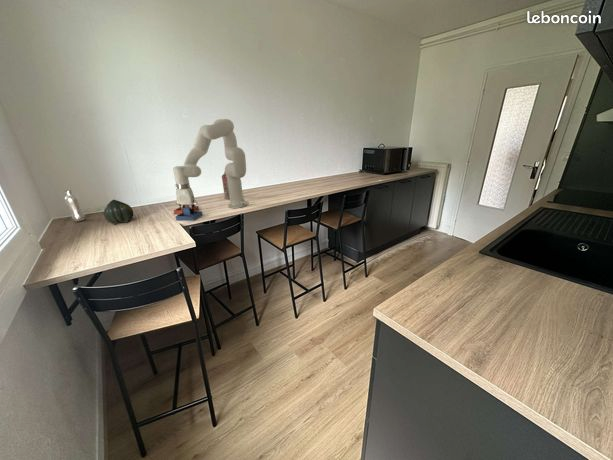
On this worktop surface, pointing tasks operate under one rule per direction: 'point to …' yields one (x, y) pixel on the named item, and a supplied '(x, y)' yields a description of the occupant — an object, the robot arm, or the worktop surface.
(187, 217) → the blue tray
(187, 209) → the blue block
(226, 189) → the juice carton
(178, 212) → the terracotta tray
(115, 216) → the squash
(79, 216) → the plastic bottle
